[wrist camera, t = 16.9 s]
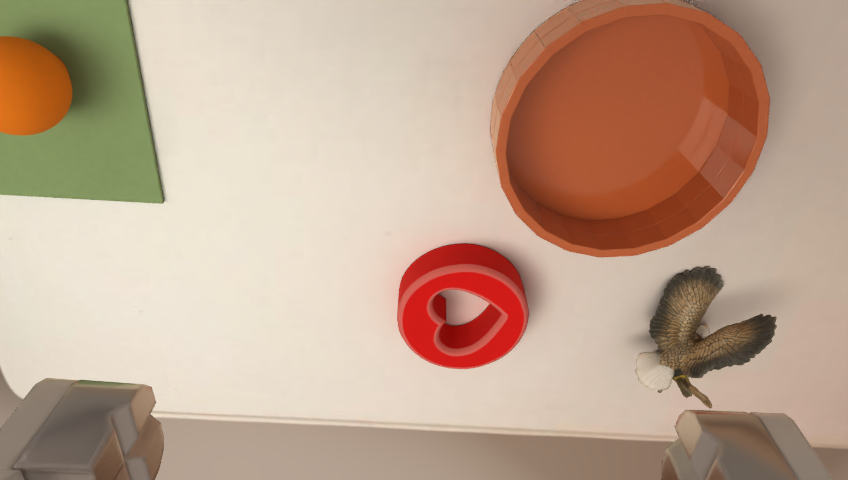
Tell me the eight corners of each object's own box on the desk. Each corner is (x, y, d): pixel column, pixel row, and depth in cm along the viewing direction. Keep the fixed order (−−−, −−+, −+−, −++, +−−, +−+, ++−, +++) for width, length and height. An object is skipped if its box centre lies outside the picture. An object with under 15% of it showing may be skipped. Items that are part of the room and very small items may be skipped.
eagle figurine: (722, 377, 49) (790, 304, 43) (700, 435, 44) (772, 363, 38) (638, 324, 51) (690, 248, 46) (607, 374, 47) (662, 297, 41)
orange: (-21, 63, 37) (-91, 91, 32) (33, 6, 36) (-32, 27, 31) (55, 132, 40) (1, 168, 35) (109, 81, 38) (61, 112, 33)
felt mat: (-110, -102, 33) (-114, -102, 33) (111, -88, 33) (108, -87, 33) (-8, 192, 42) (-11, 194, 42) (164, 201, 42) (162, 203, 42)
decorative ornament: (544, 311, 47) (551, 337, 44) (440, 361, 50) (441, 388, 47) (483, 221, 43) (487, 244, 40) (374, 281, 46) (370, 306, 43)
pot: (442, 94, 38) (443, 118, 34) (671, -71, 33) (703, -64, 30) (564, 260, 45) (577, 296, 41) (772, 142, 40) (809, 170, 36)
